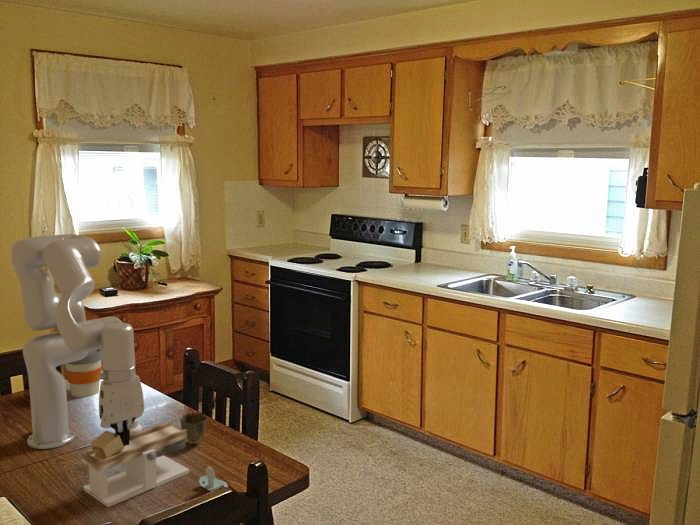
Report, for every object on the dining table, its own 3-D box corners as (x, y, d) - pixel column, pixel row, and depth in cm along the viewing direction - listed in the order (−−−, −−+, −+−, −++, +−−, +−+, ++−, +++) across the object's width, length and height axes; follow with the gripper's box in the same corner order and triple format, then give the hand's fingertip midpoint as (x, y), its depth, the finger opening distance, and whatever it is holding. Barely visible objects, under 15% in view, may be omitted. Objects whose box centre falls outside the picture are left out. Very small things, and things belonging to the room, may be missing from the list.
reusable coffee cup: (80, 402, 221) (77, 359, 218) (58, 394, 228) (55, 352, 225) (112, 391, 231) (109, 350, 229) (89, 383, 238) (87, 343, 235)
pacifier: (215, 479, 171) (196, 487, 166) (215, 456, 170) (196, 463, 166) (233, 489, 166) (213, 497, 162) (233, 466, 165) (213, 473, 161)
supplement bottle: (121, 456, 182) (119, 423, 181) (124, 448, 187) (122, 415, 186) (141, 455, 183) (139, 422, 181) (144, 447, 188) (142, 414, 187)
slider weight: (95, 455, 161) (89, 443, 159) (111, 442, 165) (106, 430, 163) (108, 461, 158) (102, 448, 157) (124, 447, 162) (119, 435, 160)
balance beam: (98, 483, 156) (97, 463, 155) (82, 472, 161) (80, 452, 160) (187, 448, 175) (186, 429, 174) (170, 439, 180) (169, 421, 179)
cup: (200, 450, 187) (200, 423, 185) (176, 447, 188) (175, 421, 187) (211, 438, 194) (210, 413, 193) (188, 436, 195) (187, 411, 194)
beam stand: (110, 508, 156) (108, 469, 154) (81, 488, 165) (79, 451, 163) (191, 474, 173) (190, 438, 171) (161, 457, 182) (160, 423, 180)
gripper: (98, 385, 153) (102, 459, 156) (154, 369, 164) (157, 439, 167) (82, 378, 158) (87, 449, 161) (138, 363, 169) (141, 430, 172)
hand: (123, 444), depth 164 cm, fingers closed
